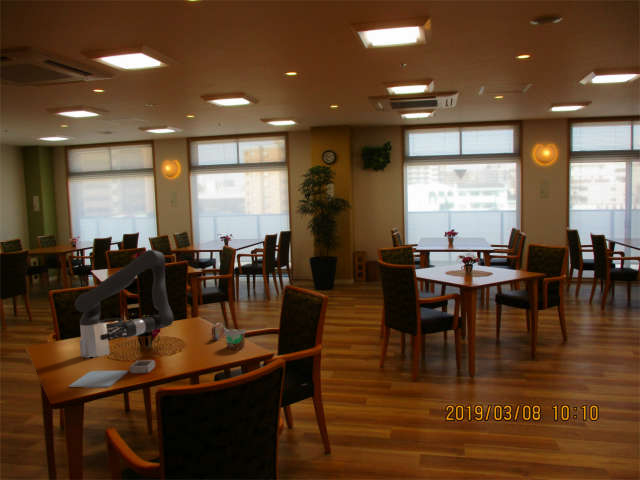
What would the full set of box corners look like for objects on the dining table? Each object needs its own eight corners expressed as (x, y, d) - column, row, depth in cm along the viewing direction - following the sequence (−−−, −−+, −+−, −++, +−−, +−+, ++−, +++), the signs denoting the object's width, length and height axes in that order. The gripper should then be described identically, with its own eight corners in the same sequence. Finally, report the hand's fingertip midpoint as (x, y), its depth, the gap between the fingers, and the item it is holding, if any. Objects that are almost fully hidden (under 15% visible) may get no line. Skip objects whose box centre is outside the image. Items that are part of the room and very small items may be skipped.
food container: (220, 349, 262) (219, 330, 262) (226, 345, 268) (225, 327, 267) (240, 351, 258) (239, 332, 257) (246, 347, 263) (245, 329, 263)
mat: (69, 387, 216) (68, 385, 216) (90, 372, 234) (90, 371, 233) (109, 387, 214) (108, 385, 214) (127, 372, 232) (127, 370, 232)
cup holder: (129, 373, 231) (129, 366, 231) (137, 366, 240) (137, 360, 239) (148, 372, 230) (147, 366, 230) (155, 366, 239) (155, 360, 239)
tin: (216, 341, 276) (215, 327, 276) (211, 341, 277) (210, 326, 276) (226, 334, 291) (225, 320, 290) (221, 334, 292) (220, 320, 291)
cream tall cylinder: (94, 355, 223) (91, 325, 222) (104, 352, 227) (101, 322, 226) (102, 356, 220) (98, 325, 219) (112, 353, 225) (108, 322, 224)
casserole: (122, 338, 290) (121, 324, 289) (88, 341, 287) (87, 327, 286) (130, 328, 315) (129, 315, 314) (99, 330, 311) (98, 317, 310)
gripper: (124, 318, 239) (89, 326, 226) (140, 322, 230) (104, 330, 217) (125, 333, 240) (91, 342, 227) (141, 338, 231) (106, 347, 218)
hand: (98, 336), depth 222 cm, fingers closed on cream tall cylinder, 5 cm apart
